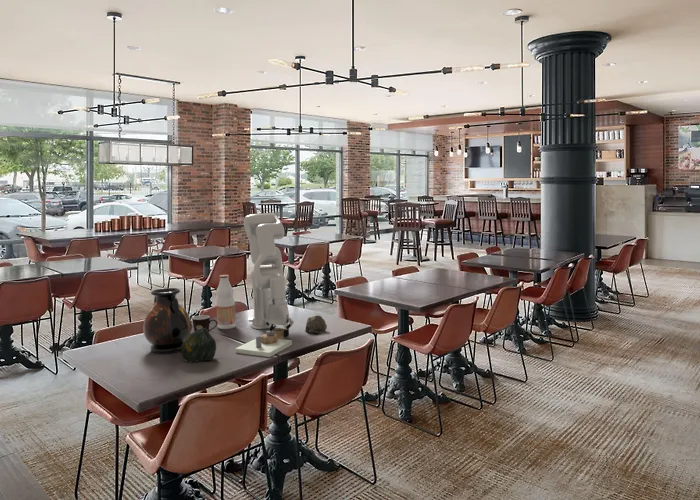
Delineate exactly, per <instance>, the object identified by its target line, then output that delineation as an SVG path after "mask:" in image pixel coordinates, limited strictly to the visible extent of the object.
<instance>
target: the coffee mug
mask: <svg viewBox="0 0 700 500" xmlns="http://www.w3.org/2000/svg"><path fill="white" fill-rule="evenodd" d="M191 322H192V325H193V326H192V327H193V332H194V331H196V330H198V329H201V328H205V329H207V330H208V332H209V333H210V332H211V331H212V330H214V329H215V328H216V327H218V325H217V319H211V316H210V315H208V314H207V315H206V314H205V315H204V314H203V315H202V314H201V315H195V316H193V317H191ZM211 322H215V326H213V327H211V329H210V324H211Z"/></svg>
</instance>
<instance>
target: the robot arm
mask: <svg viewBox="0 0 700 500" xmlns="http://www.w3.org/2000/svg"><path fill="white" fill-rule="evenodd" d="M243 228H244V231H245V234H246V236H247V239H248V241H249V252H250V258H251V262H252V264H253V270H252V271H250V282H251V288H252V298H253V300H252V301H253V317H249V318H248V322H250V323H252V324H251V328H252V329H255V330H267V329H269V330H268V331H272V330H273V329H275V327H276V326H283V327H284V328H283V329H285V330H284V337H285V338H287V337H289V336H290V335H289V334H290V328H291V327H292V326H293V325H294V322H295V321H294V320H293V319H292V318H291V317H290V313H289V312H290V311H289V307H288V302H287V298H286V295H287V294H286V277H285V276H284V275H285V272H284V265H283V259H282V258H283V257H282V252H281V250H280V248H279V247H277V246H276V242H275V240H281V239H282V240H283V238H284V237H285V228H284V225H283V223H282V221H281V220H280V218H279V216H278V215H277V214H276V213H272V212H271V213H269V212H268V213H266V212H265V213H252V214H248V215H246V216H244V219H243ZM264 265H265V267H263V266H264ZM266 265H267V266H266ZM268 265H272V266H268ZM261 266H262V267H261Z"/></svg>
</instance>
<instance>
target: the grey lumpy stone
mask: <svg viewBox="0 0 700 500" xmlns="http://www.w3.org/2000/svg"><path fill="white" fill-rule="evenodd" d="M327 327H328V326H327V323H326V320H325V319H323V317H322V316H321V315H313V316H309V317H308V318H307V320H306V324H305V330H304V331H305V332H306V333H308V332H311V333H313V334H316V335H321V334H323V333H324V332H325V331H326V330H327V329H328V328H327Z"/></svg>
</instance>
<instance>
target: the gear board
mask: <svg viewBox="0 0 700 500" xmlns="http://www.w3.org/2000/svg"><path fill="white" fill-rule="evenodd" d="M292 345H293V340H292V339H278V335H277V334H274V331H273V332H272V331H269V330H267V331H266V333H265V334H261V335H260V336H259V335H257V336H256V338H255V339H253V340H250V341H248V342H246V343H244V344H242V345H239V346H238V347H235V353H236V354H240V355H241V354H242V355H250V356H259V357H267V358H270V357H272V356H274V355H276V354H277V353H278V354H279V353H280V352H281V351H284V350H285V349H286V348H288V347H291V346H292Z"/></svg>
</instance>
